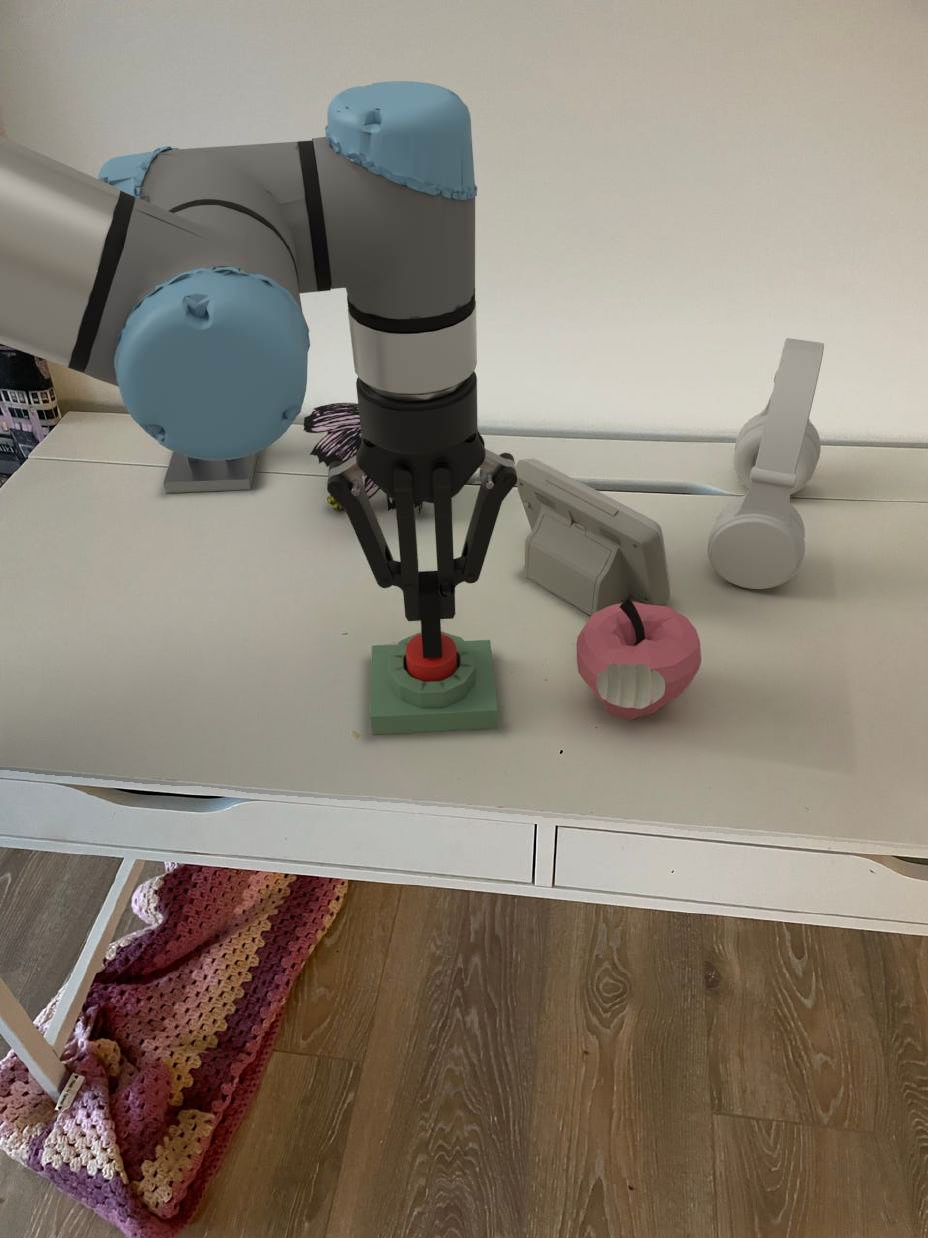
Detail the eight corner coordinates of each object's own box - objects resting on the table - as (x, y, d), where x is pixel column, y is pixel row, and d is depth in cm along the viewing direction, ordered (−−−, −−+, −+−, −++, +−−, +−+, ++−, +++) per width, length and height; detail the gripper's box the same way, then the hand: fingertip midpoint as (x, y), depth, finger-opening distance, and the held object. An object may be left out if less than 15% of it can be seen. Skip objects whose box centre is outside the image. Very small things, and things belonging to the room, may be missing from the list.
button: (407, 683, 74) (406, 668, 72) (406, 648, 77) (405, 632, 75) (458, 681, 74) (457, 665, 73) (455, 645, 77) (455, 630, 76)
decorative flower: (452, 457, 86) (296, 402, 85) (416, 566, 91) (269, 516, 91) (467, 416, 99) (332, 369, 98) (434, 514, 104) (306, 470, 103)
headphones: (730, 469, 101) (767, 296, 88) (810, 483, 99) (860, 308, 86) (698, 582, 88) (736, 397, 74) (791, 602, 85) (847, 415, 72)
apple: (559, 727, 75) (567, 637, 68) (584, 654, 81) (593, 565, 74) (680, 756, 73) (700, 666, 66) (696, 679, 79) (716, 588, 72)
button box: (372, 735, 75) (368, 701, 72) (373, 663, 80) (370, 629, 78) (497, 728, 75) (498, 694, 72) (490, 657, 81) (490, 623, 78)
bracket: (250, 489, 100) (224, 361, 90) (165, 493, 100) (130, 365, 90) (262, 430, 109) (239, 307, 99) (184, 433, 108) (153, 310, 98)
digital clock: (679, 608, 85) (697, 513, 78) (601, 647, 81) (612, 551, 74) (568, 519, 95) (575, 428, 88) (495, 551, 92) (496, 458, 84)
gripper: (515, 339, 61) (510, 609, 77) (313, 348, 60) (350, 617, 76) (527, 397, 55) (519, 675, 71) (305, 407, 55) (347, 684, 71)
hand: (432, 645), depth 74 cm, fingers closed
